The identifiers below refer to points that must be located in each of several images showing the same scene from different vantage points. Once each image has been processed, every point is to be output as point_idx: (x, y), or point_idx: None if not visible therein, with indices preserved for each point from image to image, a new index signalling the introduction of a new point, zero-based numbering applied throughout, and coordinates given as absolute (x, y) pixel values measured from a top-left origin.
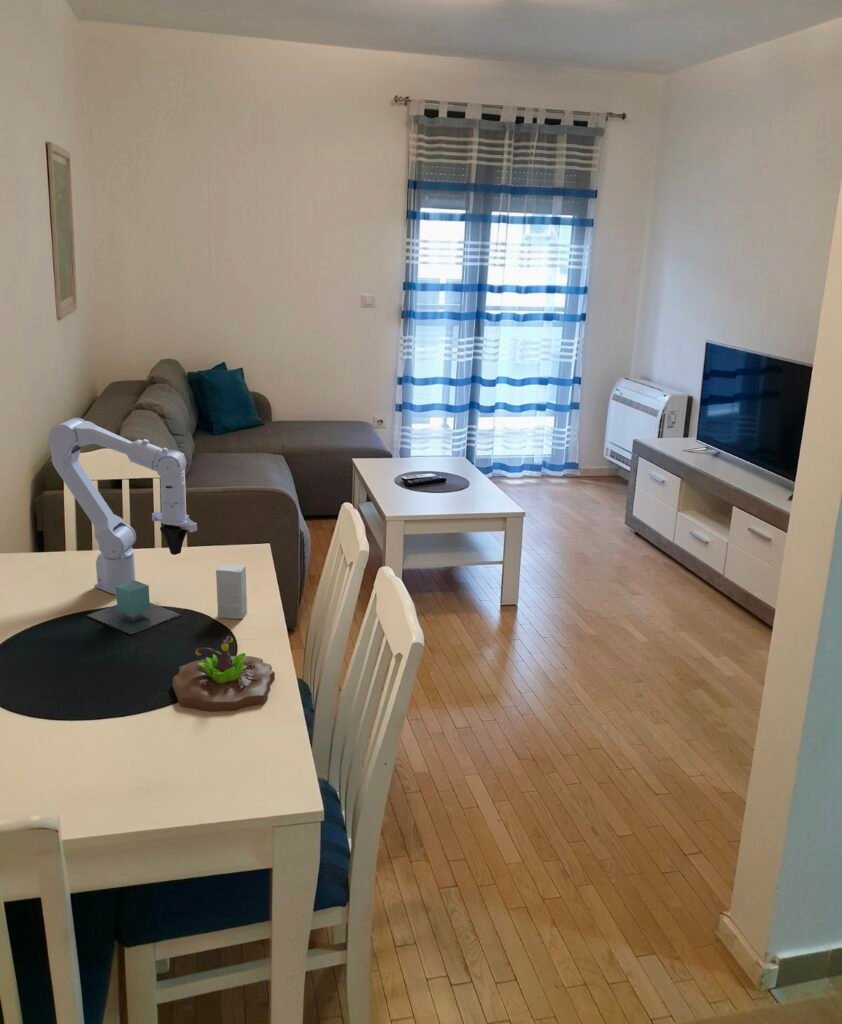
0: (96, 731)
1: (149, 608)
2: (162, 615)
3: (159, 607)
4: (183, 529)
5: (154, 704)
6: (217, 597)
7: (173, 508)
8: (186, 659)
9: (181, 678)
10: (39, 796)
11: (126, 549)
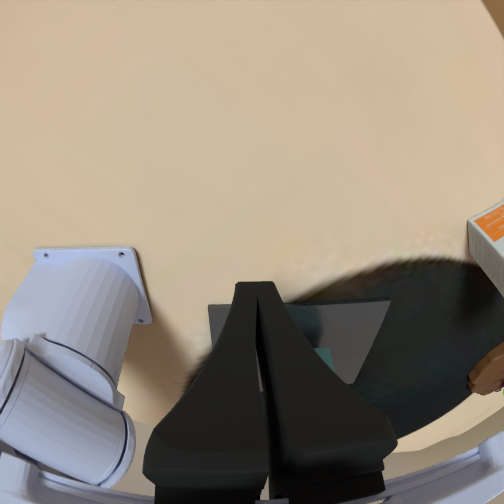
0: (432, 426)
1: (328, 350)
2: (356, 326)
3: (317, 309)
4: (374, 461)
5: (461, 399)
6: (497, 288)
7: None
8: (465, 358)
9: (480, 388)
10: (431, 443)
11: (88, 398)
